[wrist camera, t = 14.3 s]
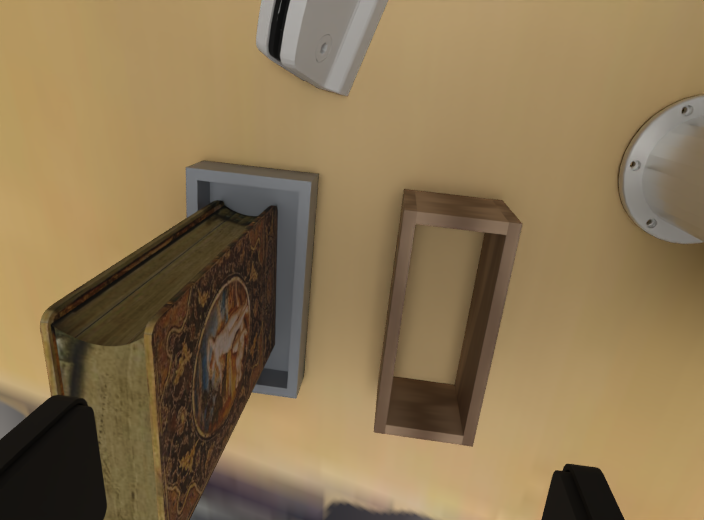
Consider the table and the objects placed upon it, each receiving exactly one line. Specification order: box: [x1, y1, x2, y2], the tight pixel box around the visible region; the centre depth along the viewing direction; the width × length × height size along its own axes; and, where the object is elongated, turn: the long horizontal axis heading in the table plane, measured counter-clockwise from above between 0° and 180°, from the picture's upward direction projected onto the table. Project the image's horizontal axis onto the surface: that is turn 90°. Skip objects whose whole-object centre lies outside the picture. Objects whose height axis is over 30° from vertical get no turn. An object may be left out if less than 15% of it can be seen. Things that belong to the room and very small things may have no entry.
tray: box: [186, 161, 319, 398], centre depth 48 cm, size 11×22×4 cm, turn 174°
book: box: [40, 200, 278, 520], centre depth 38 cm, size 16×6×25 cm, turn 176°
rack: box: [374, 189, 522, 447], centre depth 45 cm, size 9×21×8 cm, turn 174°
